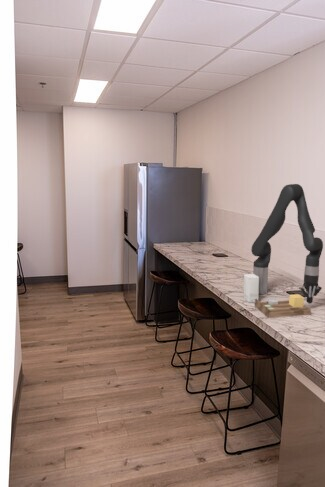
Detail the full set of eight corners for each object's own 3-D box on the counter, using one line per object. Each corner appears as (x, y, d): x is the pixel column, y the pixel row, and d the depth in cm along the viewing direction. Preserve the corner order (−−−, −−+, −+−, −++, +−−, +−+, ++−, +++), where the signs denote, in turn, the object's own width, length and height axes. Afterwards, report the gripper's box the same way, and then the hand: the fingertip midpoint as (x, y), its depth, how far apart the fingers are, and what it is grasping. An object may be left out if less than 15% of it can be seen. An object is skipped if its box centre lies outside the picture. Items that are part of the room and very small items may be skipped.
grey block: (267, 306, 216) (268, 300, 216) (274, 306, 217) (274, 299, 217) (271, 309, 213) (272, 302, 212) (277, 308, 214) (278, 301, 213)
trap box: (254, 306, 216) (255, 298, 215) (294, 304, 220) (295, 296, 219) (267, 317, 200) (268, 309, 199) (310, 314, 204) (311, 306, 203)
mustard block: (289, 304, 213) (289, 294, 212) (298, 303, 214) (298, 294, 213) (293, 307, 208) (294, 297, 207) (303, 306, 209) (303, 297, 208)
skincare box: (258, 302, 223) (259, 277, 220) (247, 302, 222) (249, 277, 219) (252, 297, 231) (254, 273, 228) (242, 298, 230) (243, 273, 227)
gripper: (318, 271, 214) (316, 300, 217) (297, 272, 211) (295, 301, 215) (326, 274, 206) (323, 304, 209) (304, 275, 204) (302, 306, 207)
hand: (309, 303), depth 212 cm, fingers closed
